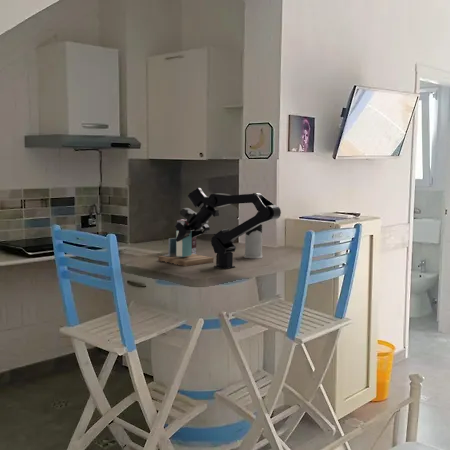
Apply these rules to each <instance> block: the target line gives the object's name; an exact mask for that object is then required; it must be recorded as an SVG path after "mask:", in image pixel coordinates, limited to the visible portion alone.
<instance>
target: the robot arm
mask: <svg viewBox="0 0 450 450" xmlns="http://www.w3.org/2000/svg"><path fill="white" fill-rule="evenodd" d="M187 198H188V200H189V202H191V204H192V206H194V208H195V209H197V208H199V209H198V211H194V210H193V209H191V208H189V207H184V208H181V210H180V211H179V215H180V216H181V217H183V218H184V219H185V220H186V221H187V222H188V223H189V224H188V225H187V224H186V223H185V222H177V221H176V223H175V225H174V227H175V228H176V230H177V229H178V231H179V233H178V236H177V238H176V237H175V238H176V241H177V242H178V241H180V240H182V239H184V238H186V237H188V236H189V234H190V233H191V231H192V238H193V237H196V236H197V237H198V236H200V235H201V236H202V235H204V234H206V233H208V232H209V231H211V230H210V228H211V227H210V225H209V220H210V219H211V218H212V217H214V218H216V217H219V216H220V211H219V209H216V208H223V207H226V206H230V205H238V204H253V206H254V207H255V209H256V211H257V212H256V213H255V215H253V216H252V217H251V218H249V219H246V221H243V222H242V223H240V224H239V225H237V226H235V227H233V228H232V229H229V228H227V229H220V230H219V231H218V232H216V233H213V236H212V237H211V241H210V242H211V243H210V244H211V246H212V250H213V252H214V254H216V256H215V257H216V258H215V265H213V267H214V268H219V269H225V270H226V269H232V268H236V265H233V263H234V260H233V259H234V257H233V256H234V254H233V252H235V251H236V250H237V247H236V245H235V243H234V242H235V241H236V239H238V238H240V237H241V236H243V235H246V232H248V231H250V230H252V229H253V228H255V227H257V226H259V225H260V224H261V225H263V224H265V223H268V222H272V221H275V220H278V219H279V218H280V217H281V214H282V210H281V208H280V207H279V206H278V205H277V204H274V203H273V201H272V200H269V199H268V198H267V197H265V196H264V195H263V194H262V193H261V192H253V193H245V194H243V193H242V194H229V193H223V192H222V193H211V194H209V195H208V196H207V195H206V194H205V193H204V191H203V190H202V188H201V187H196V188H195V189H194V190H193V191H191V192H189V193H188V195H187Z"/></svg>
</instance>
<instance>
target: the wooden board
mask: <svg viewBox="0 0 450 450" xmlns="http://www.w3.org/2000/svg"><path fill="white" fill-rule="evenodd" d="M158 260H159V262H162V261H165V262H164V263H167V262H170V263H169V264H172V263H174V264H173V265H177V264H178V266H183V267H190V266H196V265H203V264H210V263H211V264H212V263H214V257H211V256H205V255H200V254H197V253H196V254H192V255H190V256H185V257H179V256H176V257H166V256H163V255H158V256H157V261H158Z"/></svg>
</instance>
